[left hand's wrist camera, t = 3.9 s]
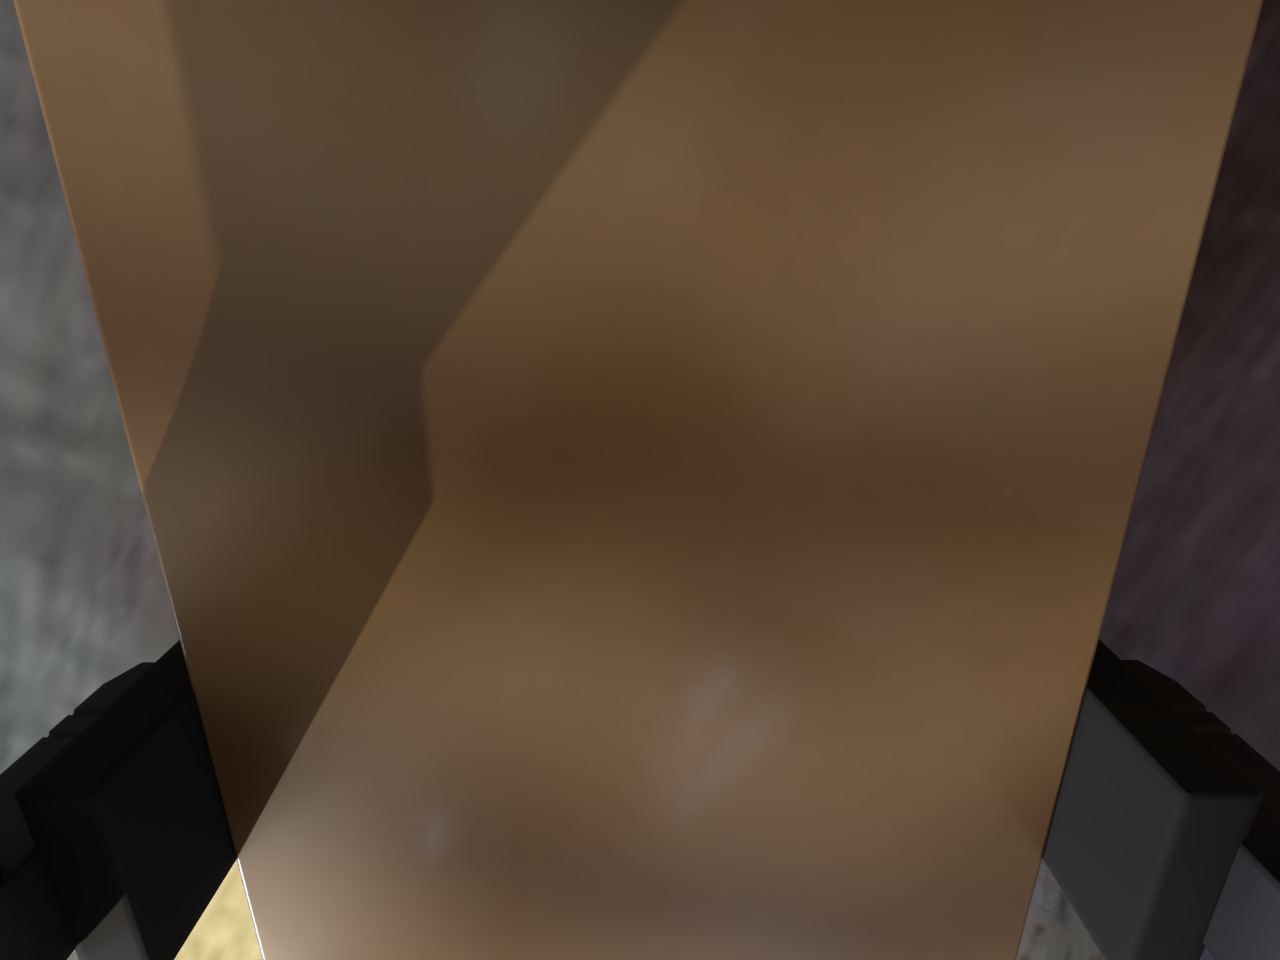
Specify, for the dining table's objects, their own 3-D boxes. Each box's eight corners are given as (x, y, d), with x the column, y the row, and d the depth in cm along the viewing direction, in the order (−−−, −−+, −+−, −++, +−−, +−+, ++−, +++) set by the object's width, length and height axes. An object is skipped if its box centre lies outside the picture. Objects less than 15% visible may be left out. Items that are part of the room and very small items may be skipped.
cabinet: (385, -118, 15) (-236, -930, 4) (893, -119, 15) (1510, -928, 4) (456, 595, 21) (267, 990, 10) (821, 595, 21) (1010, 988, 10)
